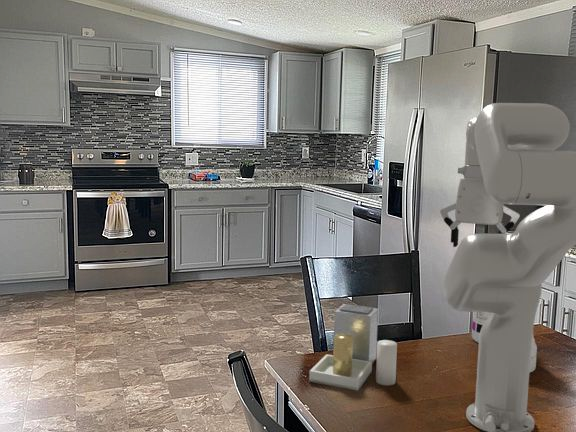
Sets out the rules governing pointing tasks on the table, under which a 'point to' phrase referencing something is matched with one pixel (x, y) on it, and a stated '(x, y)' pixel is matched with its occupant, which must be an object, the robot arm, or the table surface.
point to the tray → (325, 375)
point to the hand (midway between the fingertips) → (477, 247)
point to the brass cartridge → (342, 354)
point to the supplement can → (478, 323)
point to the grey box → (358, 329)
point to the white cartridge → (386, 362)
